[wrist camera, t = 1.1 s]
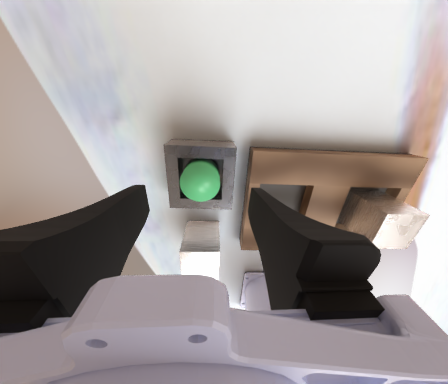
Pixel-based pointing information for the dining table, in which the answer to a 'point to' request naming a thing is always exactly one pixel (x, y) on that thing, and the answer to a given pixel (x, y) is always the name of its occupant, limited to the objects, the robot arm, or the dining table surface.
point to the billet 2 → (381, 218)
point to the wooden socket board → (324, 180)
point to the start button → (200, 180)
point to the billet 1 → (200, 249)
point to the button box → (190, 149)
